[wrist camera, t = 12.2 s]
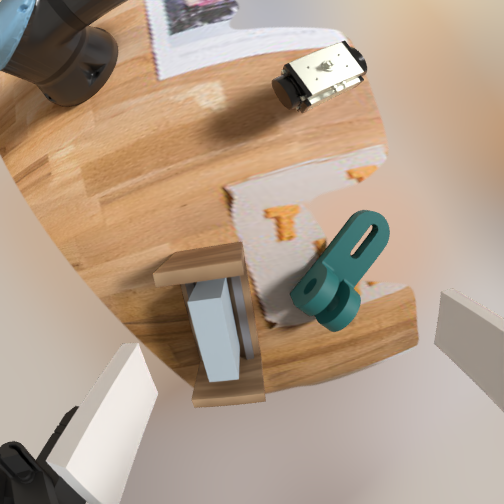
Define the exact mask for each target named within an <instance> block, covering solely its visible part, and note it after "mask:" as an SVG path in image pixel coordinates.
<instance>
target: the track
mask: <svg viewBox="0 0 504 504" xmlns="http://www.w3.org/2000/svg"><path fill="white" fill-rule="evenodd" d="M153 278H154V282H155V286H156V287H164V286H171V285H178V284H180V285H181V289H182V293H183V297H184V301H185V305H186V309H187V313H188V317H189V321H190V325H191V328H192V332H193V336H194V339H195V343H196V347H197V350H198V354H199V357H200V360H201V361H200V365H199V369H198V374H197V378H196V382H195V387H194V391H193V395H192V402H193V405H194V407H195V408H197V407H215V406H227V405H239V404H248V403H256V402H264V401H266V399H265V389H264V379H263V369H262V359H261V353H260V347H259V341H258V335H257V329H256V323H255V317H254V311H253V305H252V299H251V293H250V287H249V281H248V275H247V269H246V263H245V257H244V250H243V244H242V242H237V243H230V244H224V245H217V246H211V247H205V248H199V249H192V250H186V251H180V252H175V253H174V254H173V255H172V256H171V257H170V258H169V259H168V260H167V261H166V262H165V263H163V264H162V265H161V266H160V267H159V268H158V269H157V270H156V271H155V272H154V273H153ZM221 278H227V283H228V288H229V293H230V299H231V304H232V309H233V314H234V319H235V324H236V329H237V334H238V339H239V344H240V356H239V379H237V380H228V381H217V382H209V379H208V376H207V372H206V369H205V366H204V362H203V359H202V355H201V352H200V348H199V345H198V341H197V337H196V334H195V330H194V326H193V322H192V318H191V314H190V311H189V307H188V300H189V298H190V296H191V293H192V291H193V289H194V287H195V285H196V283H197V282H200V281H207V280H214V279H221Z"/></svg>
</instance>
